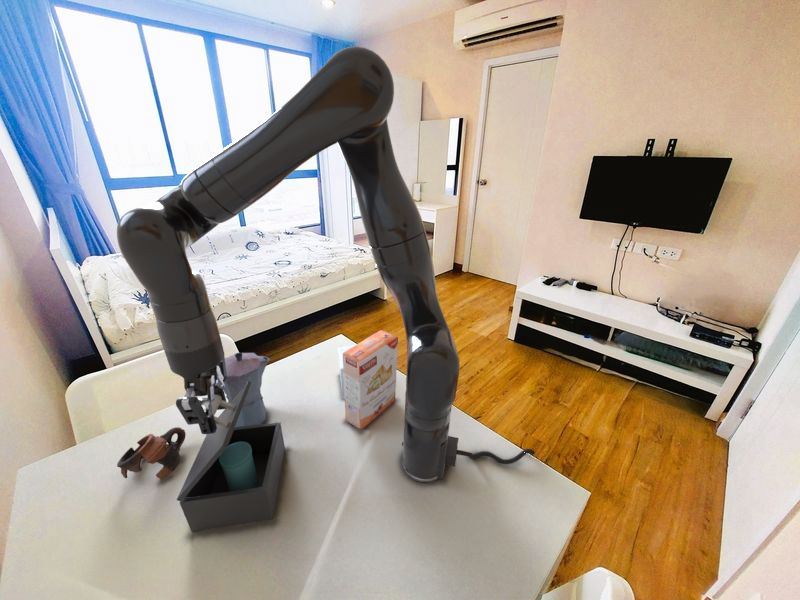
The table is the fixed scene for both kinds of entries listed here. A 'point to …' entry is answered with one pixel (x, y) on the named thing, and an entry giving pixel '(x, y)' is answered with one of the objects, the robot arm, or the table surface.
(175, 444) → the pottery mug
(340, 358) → the cosmetics box
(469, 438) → the table surface
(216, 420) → the lid
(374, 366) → the cracker box
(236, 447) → the container
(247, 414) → the moka pot
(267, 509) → the open box
